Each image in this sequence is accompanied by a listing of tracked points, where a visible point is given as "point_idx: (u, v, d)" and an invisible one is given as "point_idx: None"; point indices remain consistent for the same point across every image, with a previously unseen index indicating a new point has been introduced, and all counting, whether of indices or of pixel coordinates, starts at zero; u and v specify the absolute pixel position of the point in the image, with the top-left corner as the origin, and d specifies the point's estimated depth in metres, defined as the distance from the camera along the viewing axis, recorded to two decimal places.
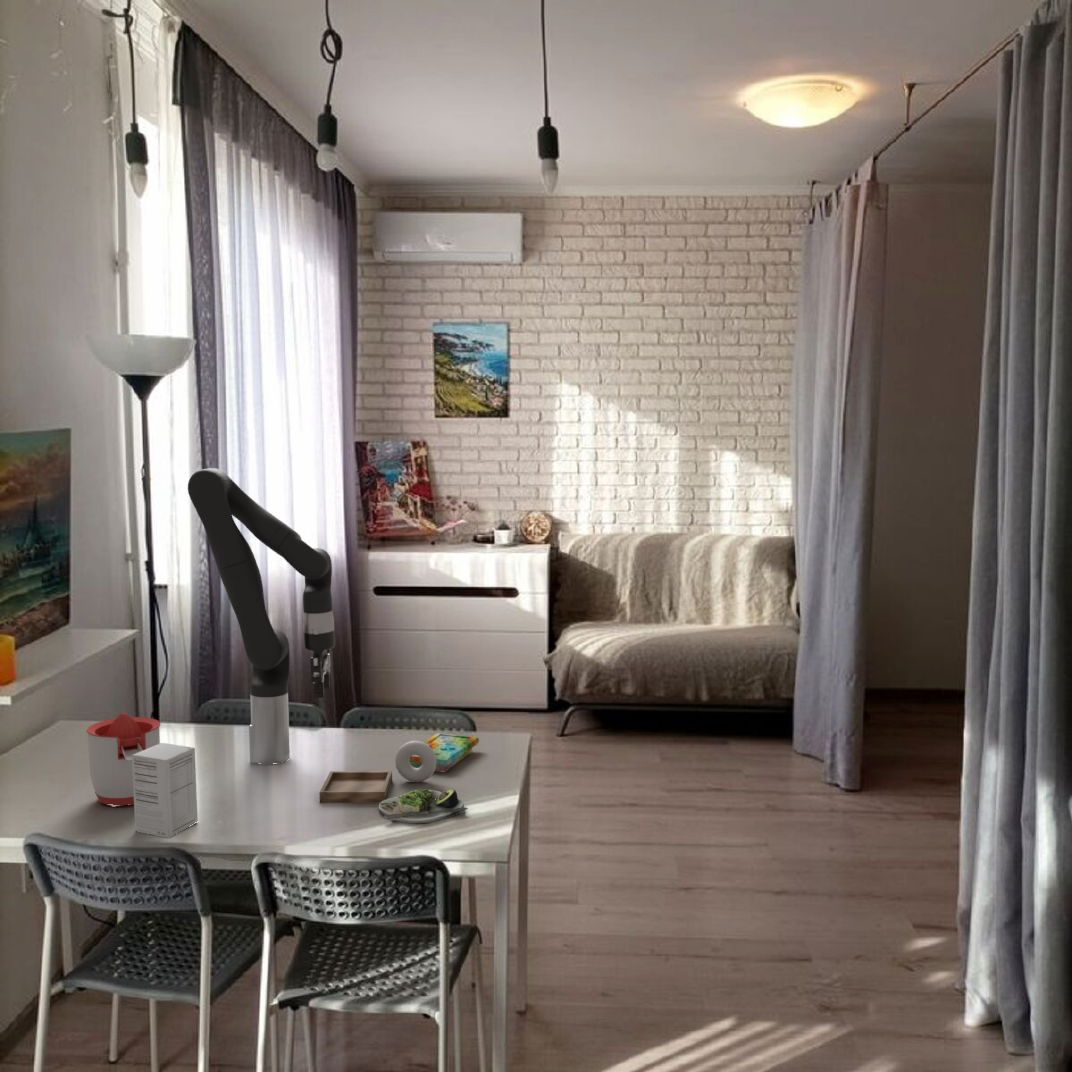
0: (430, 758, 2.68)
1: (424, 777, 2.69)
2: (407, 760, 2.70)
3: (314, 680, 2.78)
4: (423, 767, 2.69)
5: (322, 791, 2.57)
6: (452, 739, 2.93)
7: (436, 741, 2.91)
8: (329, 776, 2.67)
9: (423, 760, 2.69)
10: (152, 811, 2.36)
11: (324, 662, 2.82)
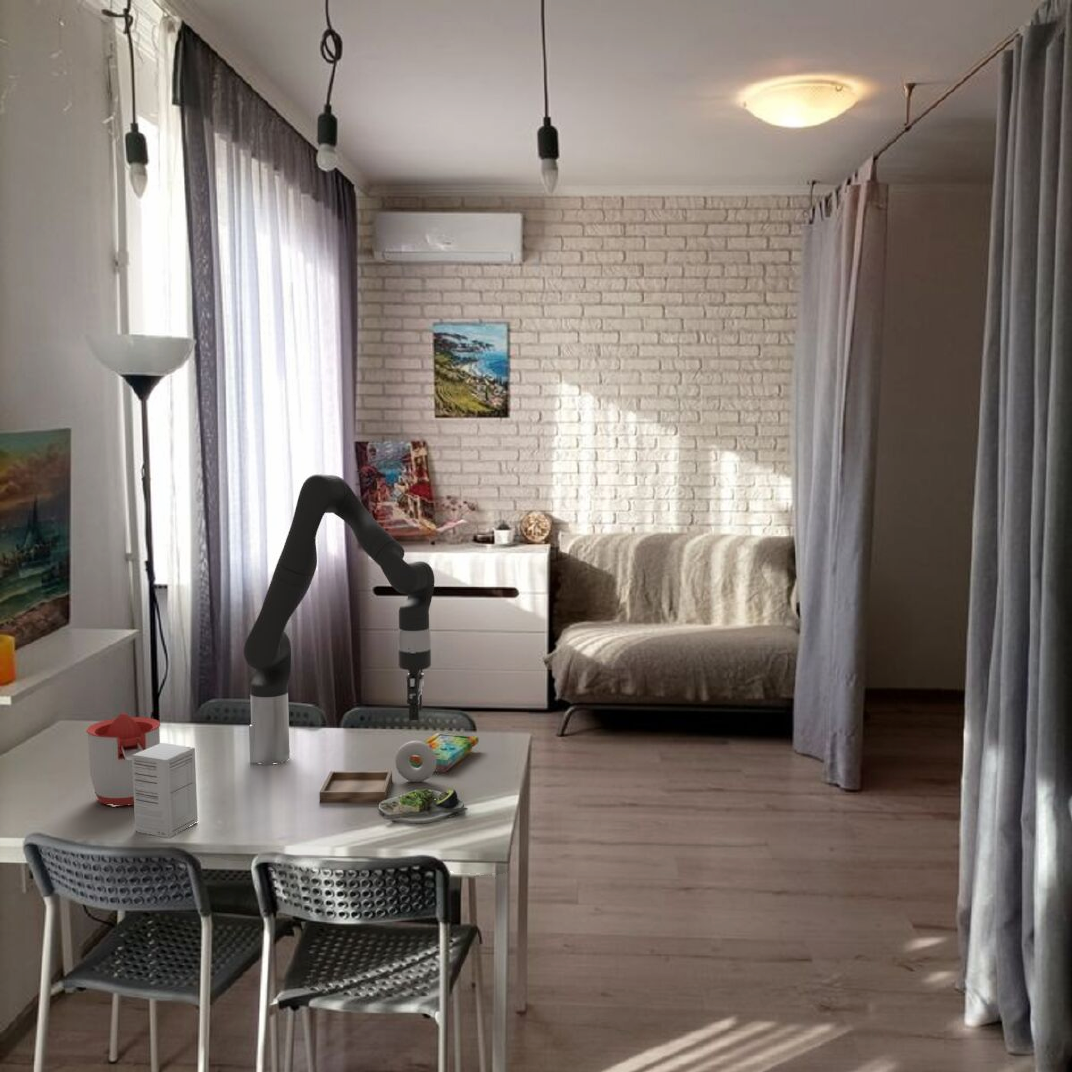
0: (430, 758, 2.68)
1: (424, 777, 2.69)
2: (407, 760, 2.70)
3: (410, 702, 2.62)
4: (423, 767, 2.69)
5: (322, 791, 2.57)
6: (452, 738, 2.94)
7: (436, 741, 2.91)
8: (329, 776, 2.67)
9: (423, 760, 2.69)
10: (152, 811, 2.36)
11: (420, 683, 2.66)
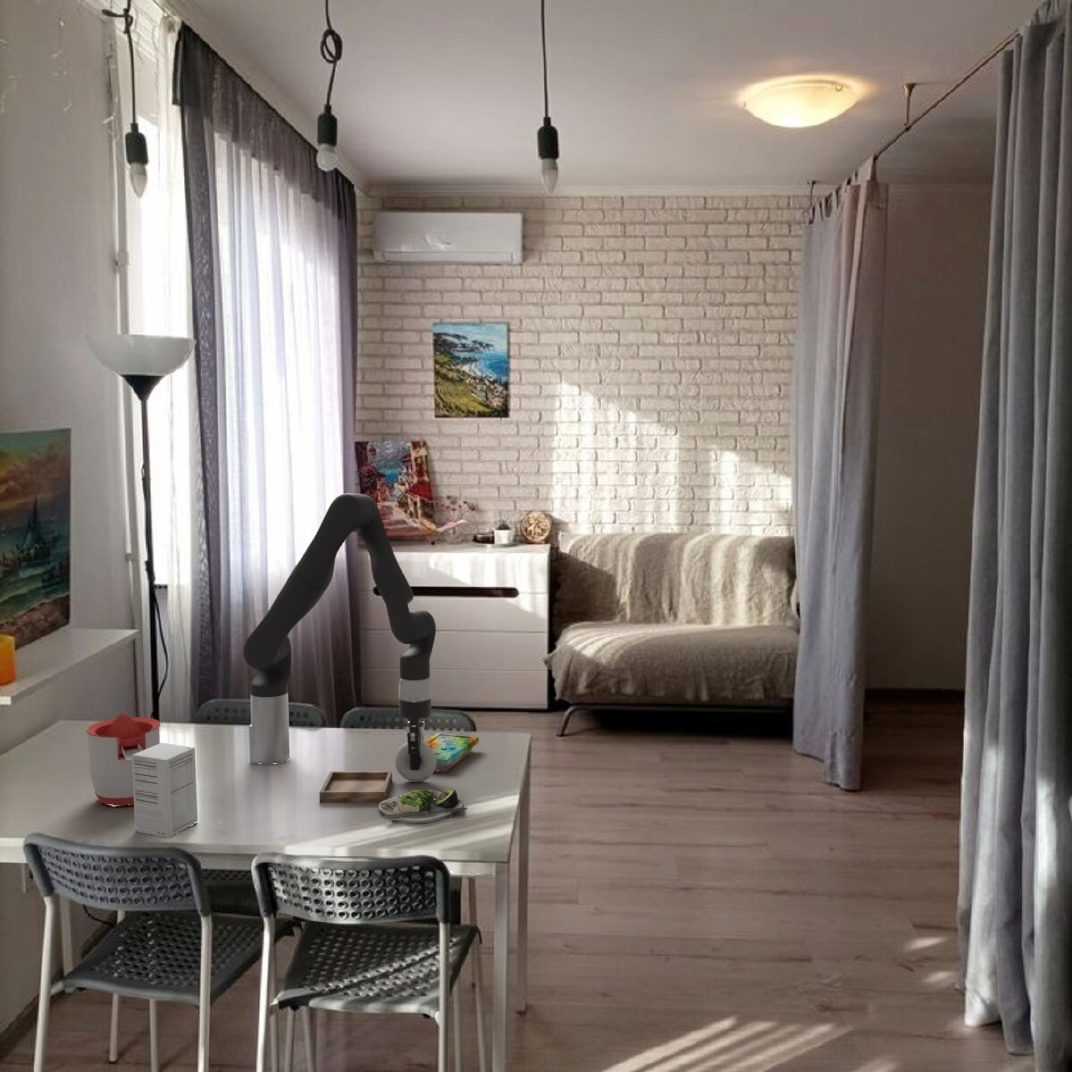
0: (430, 758, 2.68)
1: (424, 777, 2.69)
2: (407, 760, 2.70)
3: (411, 753, 2.65)
4: (423, 767, 2.69)
5: (322, 791, 2.57)
6: (452, 738, 2.94)
7: (436, 741, 2.91)
8: (329, 776, 2.67)
9: (423, 760, 2.69)
10: (152, 811, 2.36)
11: (420, 733, 2.67)
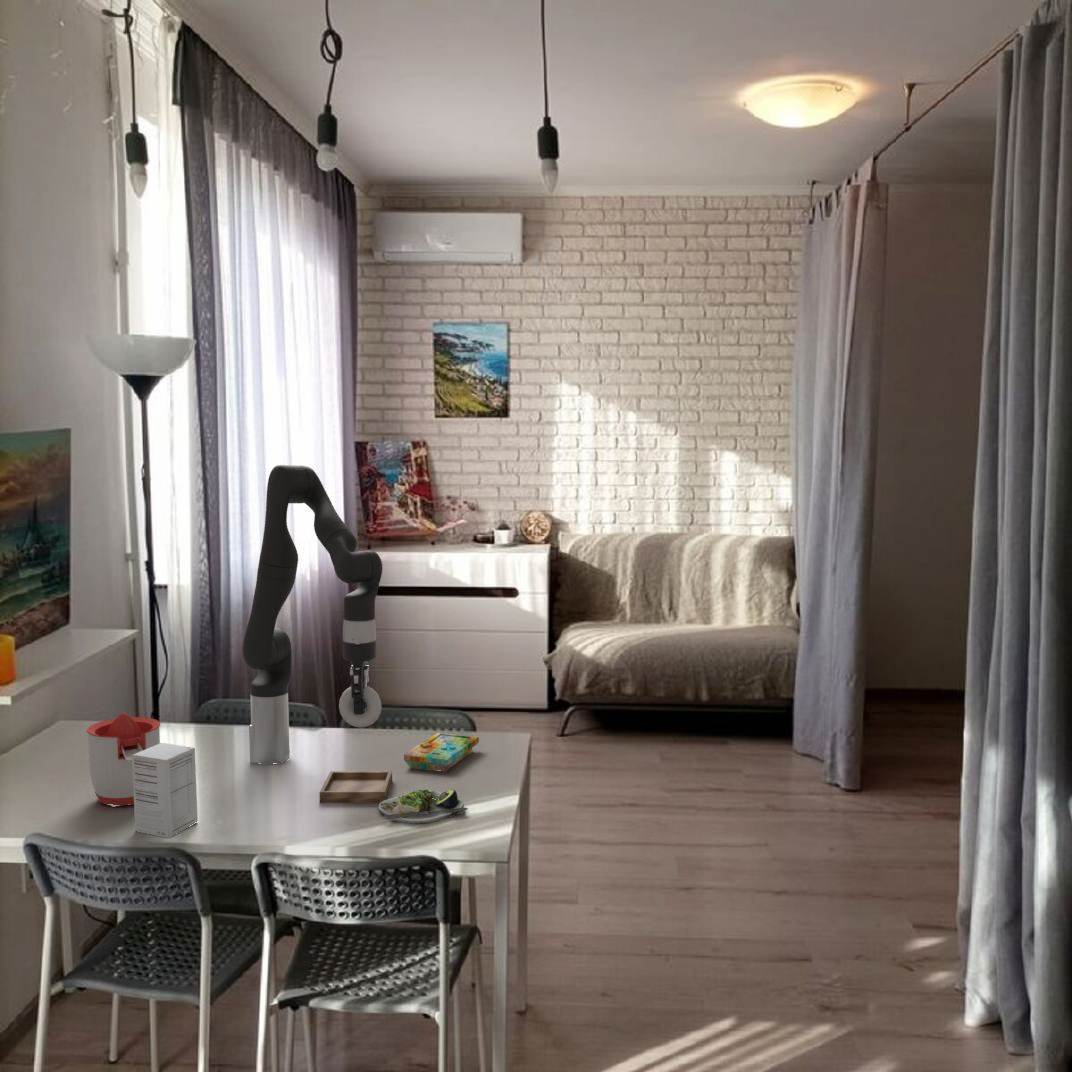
0: (375, 702, 2.60)
1: (369, 722, 2.61)
2: (351, 704, 2.62)
3: (355, 697, 2.57)
4: (367, 712, 2.61)
5: (322, 791, 2.57)
6: (453, 738, 2.94)
7: (437, 741, 2.91)
8: (329, 776, 2.67)
9: (368, 704, 2.61)
10: (152, 811, 2.36)
11: (364, 676, 2.59)
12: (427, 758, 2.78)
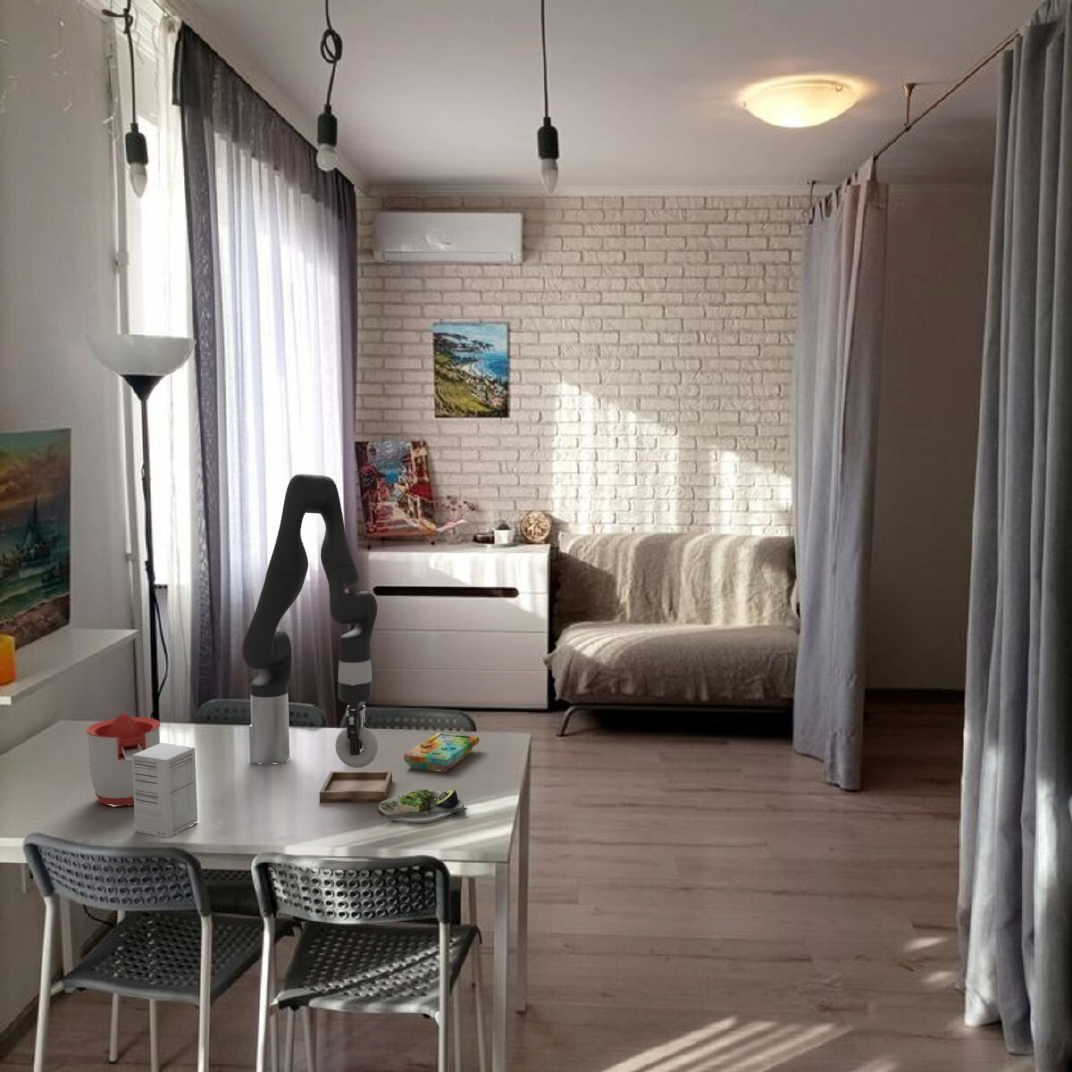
0: (371, 742, 2.61)
1: (365, 762, 2.61)
2: (347, 745, 2.62)
3: (350, 738, 2.57)
4: (364, 752, 2.61)
5: (322, 791, 2.57)
6: (453, 738, 2.94)
7: (437, 741, 2.91)
8: (329, 776, 2.67)
9: (364, 745, 2.61)
10: (152, 811, 2.36)
11: (360, 717, 2.60)
12: (427, 758, 2.78)
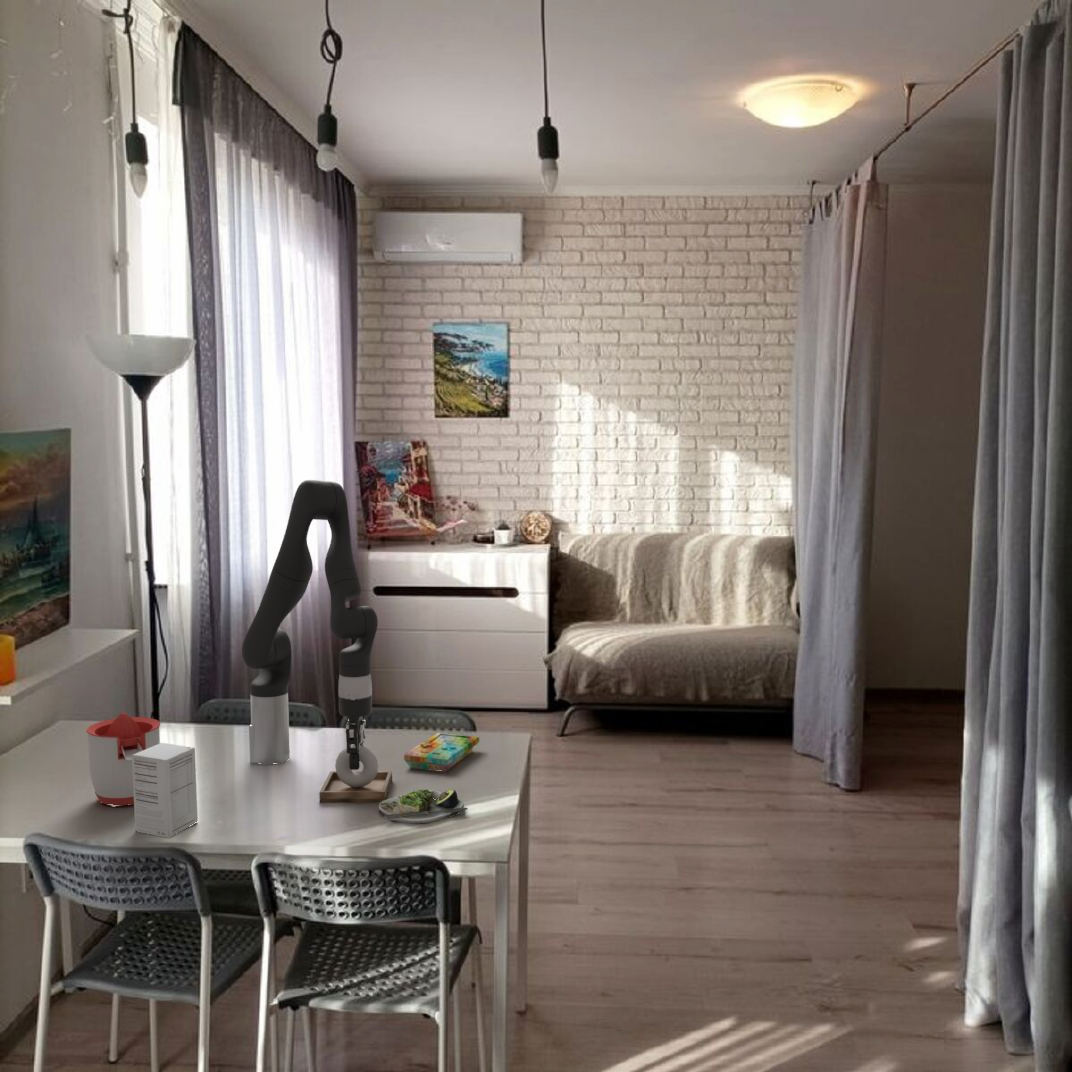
0: (372, 762, 2.62)
1: (365, 782, 2.62)
2: (348, 765, 2.63)
3: (350, 752, 2.57)
4: (364, 772, 2.62)
5: (322, 791, 2.57)
6: (453, 738, 2.94)
7: (437, 741, 2.91)
8: (329, 776, 2.67)
9: (364, 765, 2.62)
10: (152, 811, 2.36)
11: (360, 730, 2.60)
12: (427, 758, 2.78)
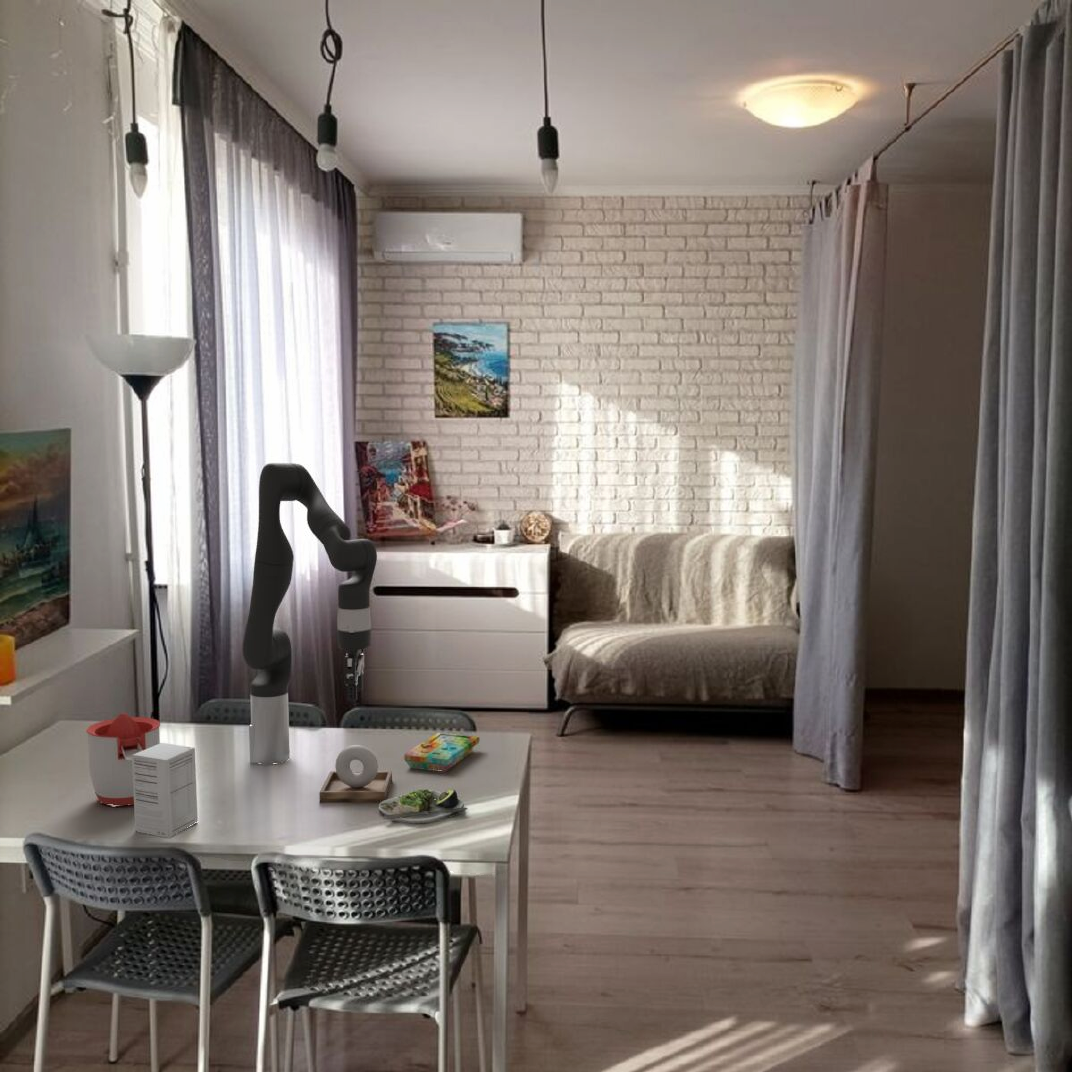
0: (372, 762, 2.62)
1: (365, 782, 2.62)
2: (348, 765, 2.63)
3: (347, 682, 2.55)
4: (364, 772, 2.62)
5: (322, 791, 2.57)
6: (453, 738, 2.94)
7: (437, 741, 2.91)
8: (329, 776, 2.67)
9: (364, 765, 2.62)
10: (152, 811, 2.36)
11: (358, 663, 2.59)
12: (427, 758, 2.78)
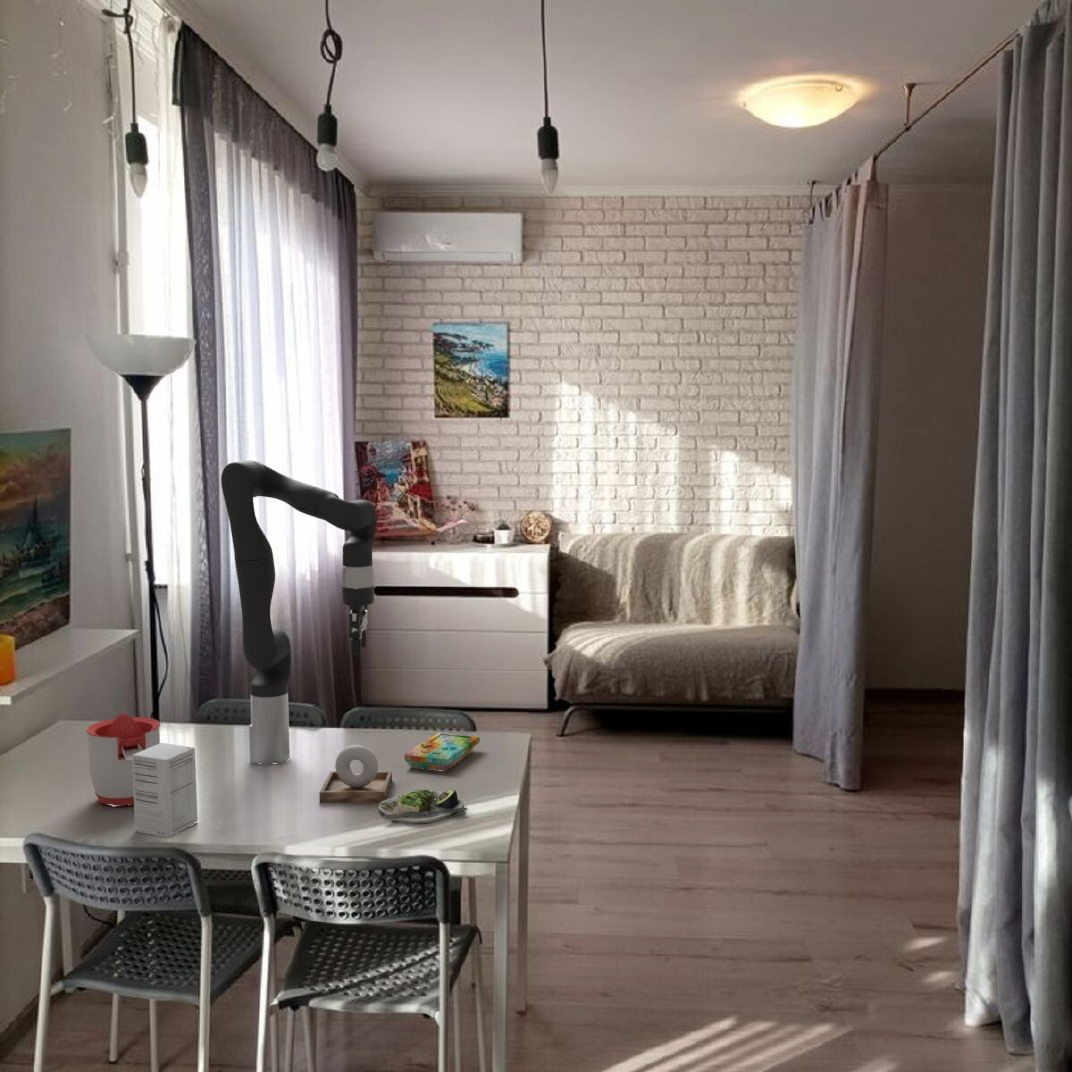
0: (372, 762, 2.62)
1: (365, 782, 2.62)
2: (348, 765, 2.63)
3: (352, 636, 2.67)
4: (364, 772, 2.62)
5: (322, 791, 2.57)
6: (453, 738, 2.94)
7: (437, 741, 2.91)
8: (329, 776, 2.67)
9: (364, 765, 2.62)
10: (152, 811, 2.36)
11: (362, 618, 2.71)
12: (428, 758, 2.78)
